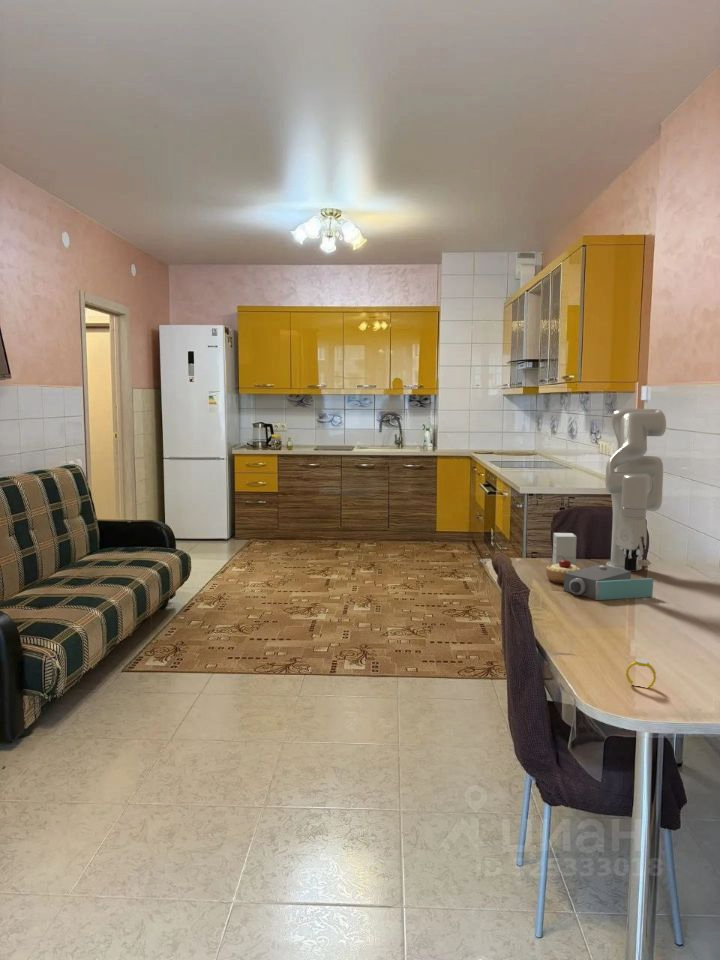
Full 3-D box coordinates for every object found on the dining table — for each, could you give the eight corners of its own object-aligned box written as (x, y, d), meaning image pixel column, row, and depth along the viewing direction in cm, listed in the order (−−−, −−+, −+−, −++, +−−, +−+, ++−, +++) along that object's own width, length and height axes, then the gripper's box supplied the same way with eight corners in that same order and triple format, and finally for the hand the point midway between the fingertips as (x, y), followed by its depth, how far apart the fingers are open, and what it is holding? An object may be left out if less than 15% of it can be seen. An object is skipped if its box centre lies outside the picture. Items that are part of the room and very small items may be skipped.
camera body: (598, 581, 241) (599, 562, 240) (630, 588, 232) (631, 569, 231) (559, 592, 227) (559, 571, 226) (591, 600, 218) (592, 579, 217)
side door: (650, 595, 223) (651, 578, 222) (652, 596, 222) (653, 579, 221) (594, 599, 218) (595, 581, 218) (596, 600, 217) (597, 582, 217)
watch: (654, 687, 152) (658, 662, 151) (653, 692, 150) (657, 666, 149) (625, 680, 155) (629, 655, 154) (624, 685, 152) (627, 659, 151)
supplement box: (571, 565, 265) (573, 532, 263) (575, 569, 257) (577, 536, 256) (551, 564, 265) (553, 532, 264) (555, 569, 258) (556, 536, 257)
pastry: (568, 588, 233) (569, 563, 232) (539, 580, 242) (539, 556, 241) (588, 581, 241) (589, 556, 240) (558, 574, 250) (559, 550, 249)
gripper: (609, 510, 226) (606, 565, 228) (637, 517, 212) (634, 575, 214) (629, 510, 228) (626, 564, 230) (658, 516, 214) (655, 574, 215)
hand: (630, 569), depth 222 cm, fingers closed
